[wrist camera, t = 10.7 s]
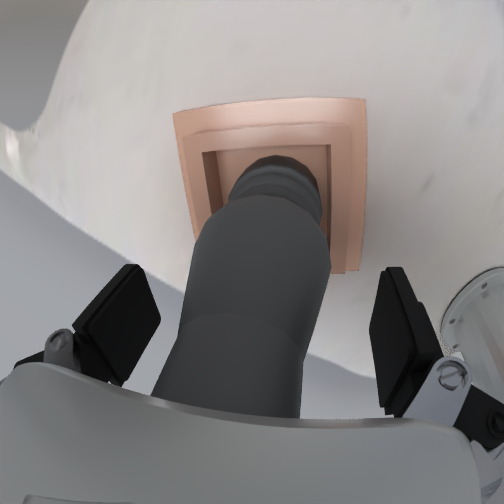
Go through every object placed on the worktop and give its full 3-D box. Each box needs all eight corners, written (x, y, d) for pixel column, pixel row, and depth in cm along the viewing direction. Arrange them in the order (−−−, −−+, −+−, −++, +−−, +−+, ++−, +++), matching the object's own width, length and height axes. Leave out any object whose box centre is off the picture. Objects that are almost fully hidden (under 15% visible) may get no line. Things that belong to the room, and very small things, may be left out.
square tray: (362, 99, 16) (377, 98, 13) (357, 264, 23) (364, 292, 20) (177, 112, 19) (153, 116, 15) (205, 264, 26) (191, 290, 22)
